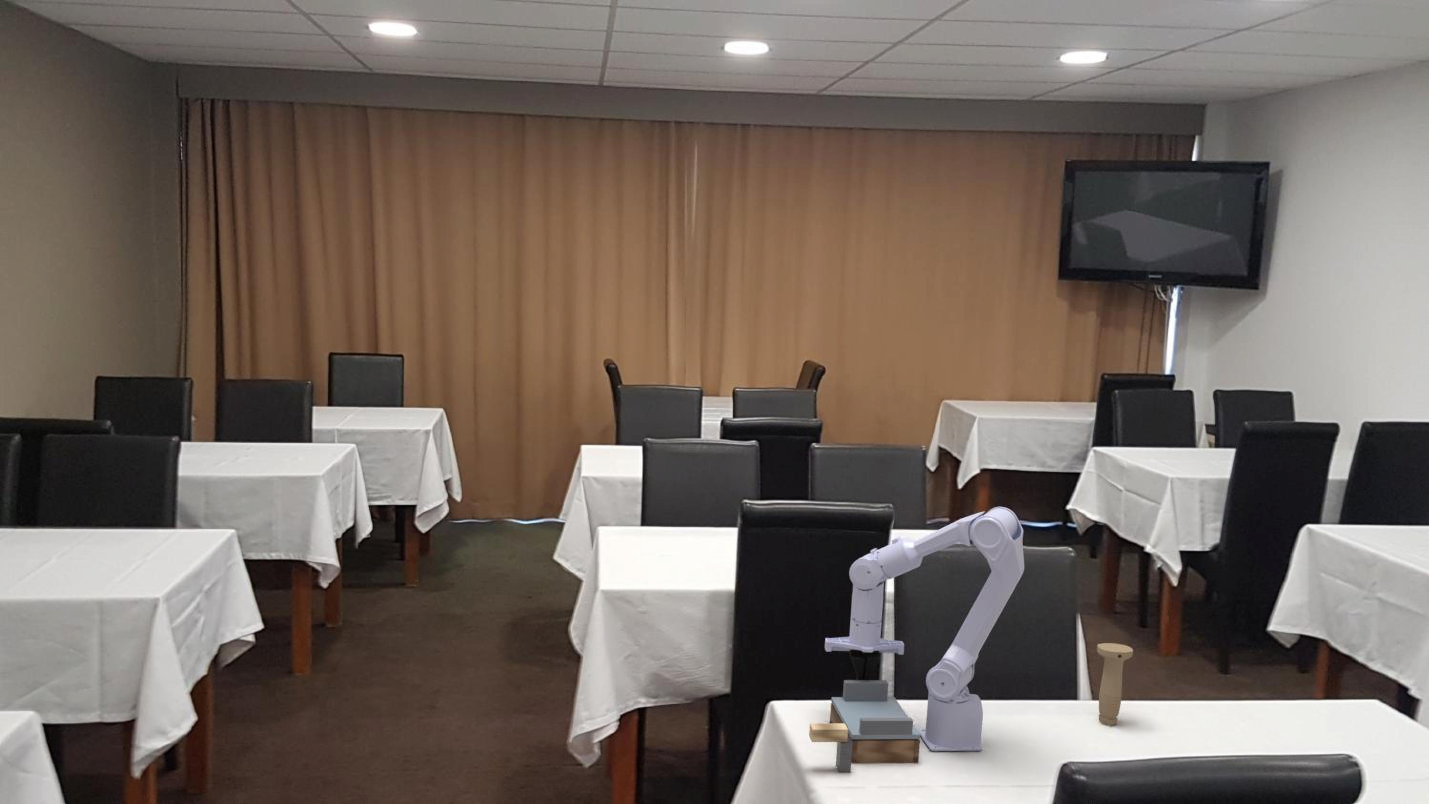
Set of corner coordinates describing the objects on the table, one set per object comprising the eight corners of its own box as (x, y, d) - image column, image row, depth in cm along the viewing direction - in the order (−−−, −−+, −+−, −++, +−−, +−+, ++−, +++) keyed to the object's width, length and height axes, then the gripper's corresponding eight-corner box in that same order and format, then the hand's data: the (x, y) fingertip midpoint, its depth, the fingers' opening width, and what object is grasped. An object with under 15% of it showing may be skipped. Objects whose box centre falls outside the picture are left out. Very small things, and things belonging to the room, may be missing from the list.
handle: (1129, 728, 205) (1137, 652, 203) (1095, 727, 205) (1103, 651, 203) (1119, 718, 210) (1126, 643, 208) (1086, 716, 210) (1093, 642, 208)
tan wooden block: (843, 735, 183) (844, 723, 183) (847, 741, 181) (848, 729, 181) (809, 735, 182) (809, 723, 182) (812, 742, 180) (812, 729, 180)
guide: (847, 765, 184) (849, 736, 183) (850, 772, 182) (852, 743, 181) (835, 765, 184) (837, 736, 183) (838, 772, 181) (840, 743, 181)
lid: (894, 701, 202) (895, 679, 201) (920, 738, 186) (921, 715, 185) (831, 701, 200) (832, 678, 200) (852, 739, 184) (853, 715, 184)
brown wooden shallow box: (892, 723, 202) (894, 702, 202) (918, 762, 186) (919, 740, 186) (829, 723, 201) (831, 702, 200) (850, 763, 185) (851, 740, 185)
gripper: (829, 624, 196) (825, 695, 198) (909, 627, 197) (904, 698, 199) (825, 611, 203) (820, 680, 205) (901, 614, 204) (896, 683, 206)
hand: (861, 688), depth 202 cm, fingers closed
